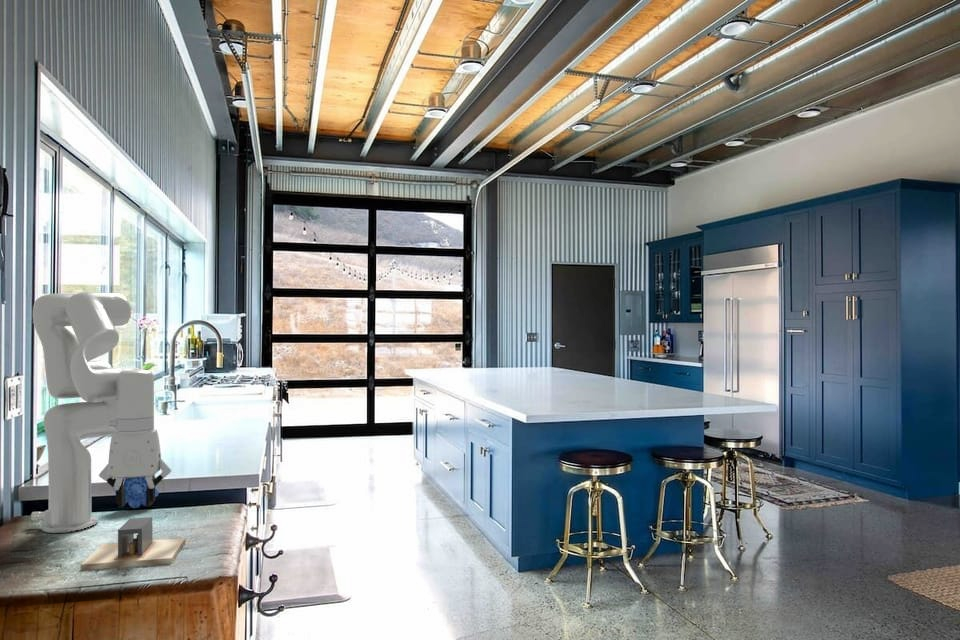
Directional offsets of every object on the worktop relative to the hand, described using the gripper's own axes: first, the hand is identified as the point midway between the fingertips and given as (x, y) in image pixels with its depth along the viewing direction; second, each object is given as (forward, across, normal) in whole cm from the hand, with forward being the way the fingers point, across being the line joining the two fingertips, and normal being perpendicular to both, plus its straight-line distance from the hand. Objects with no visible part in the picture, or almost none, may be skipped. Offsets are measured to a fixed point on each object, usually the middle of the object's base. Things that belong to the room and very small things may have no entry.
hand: (135, 505), depth 154 cm
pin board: (+11, 0, 0) cm, 11 cm away
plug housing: (+10, 0, 0) cm, 10 cm away
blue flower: (+12, -11, +42) cm, 45 cm away
